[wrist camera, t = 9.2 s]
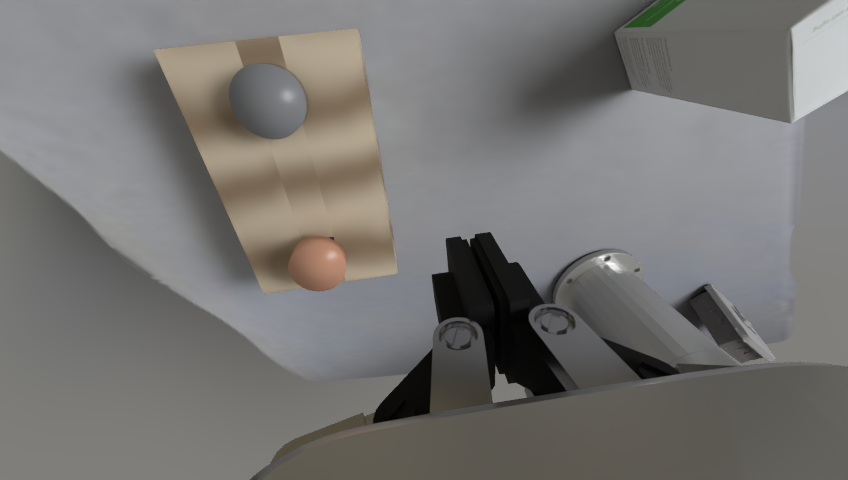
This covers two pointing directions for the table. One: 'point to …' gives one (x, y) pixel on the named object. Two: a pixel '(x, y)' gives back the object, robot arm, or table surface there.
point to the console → (291, 152)
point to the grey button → (268, 100)
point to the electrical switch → (729, 327)
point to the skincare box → (740, 53)
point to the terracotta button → (317, 263)
